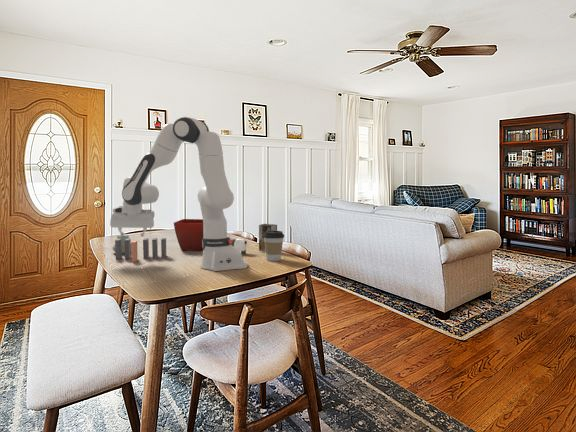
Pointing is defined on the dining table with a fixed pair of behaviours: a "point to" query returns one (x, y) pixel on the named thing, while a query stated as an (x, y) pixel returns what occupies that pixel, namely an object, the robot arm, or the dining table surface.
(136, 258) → the domino
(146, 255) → the domino
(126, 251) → the domino
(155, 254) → the domino
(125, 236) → the air freshener
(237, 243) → the giant panda
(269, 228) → the coffee box
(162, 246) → the domino
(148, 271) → the dining table surface
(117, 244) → the domino
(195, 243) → the plant pot
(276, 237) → the coffee cup
